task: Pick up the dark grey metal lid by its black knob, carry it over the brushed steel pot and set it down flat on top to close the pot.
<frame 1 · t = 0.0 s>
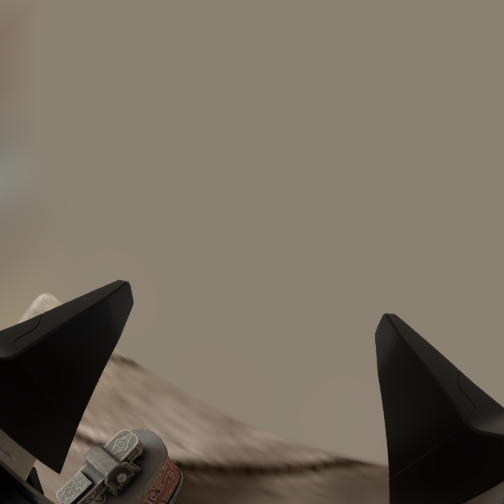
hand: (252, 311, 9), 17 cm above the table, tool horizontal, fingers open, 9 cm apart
lighter: (149, 500, 12), on the table
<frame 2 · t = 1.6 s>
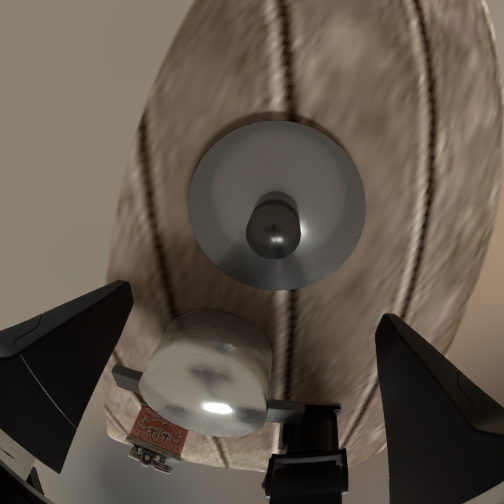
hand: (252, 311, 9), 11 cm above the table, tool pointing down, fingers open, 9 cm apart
lid: (276, 208, 19), on the table
lighter: (167, 412, 34), on the table
pot: (217, 352, 26), on the table
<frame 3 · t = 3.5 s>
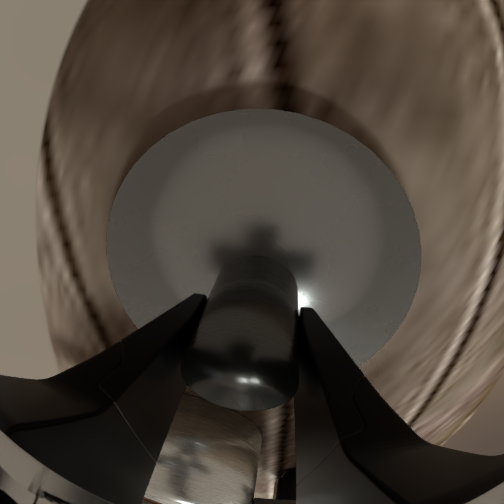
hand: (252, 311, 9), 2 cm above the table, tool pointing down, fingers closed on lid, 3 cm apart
lid: (258, 277, 11), on the table, touching gripper
pot: (192, 428, 18), on the table
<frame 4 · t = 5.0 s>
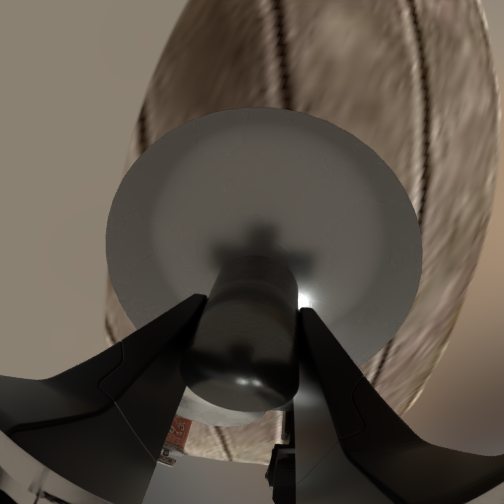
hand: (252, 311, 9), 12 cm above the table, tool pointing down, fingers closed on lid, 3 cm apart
lid: (259, 277, 11), point 10 cm above the table, touching gripper
lighter: (170, 404, 35), on the table
pot: (218, 341, 26), on the table
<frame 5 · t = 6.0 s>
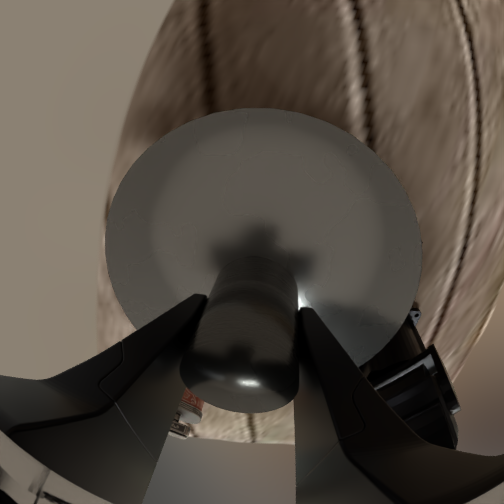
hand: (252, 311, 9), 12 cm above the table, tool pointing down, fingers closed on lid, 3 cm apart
lid: (258, 278, 11), point 10 cm above the table, touching gripper
lighter: (182, 351, 28), on the table
when the fingers open (10 cm above the table, at t = 6.8 s): lid drops 1 cm, resting on pot.
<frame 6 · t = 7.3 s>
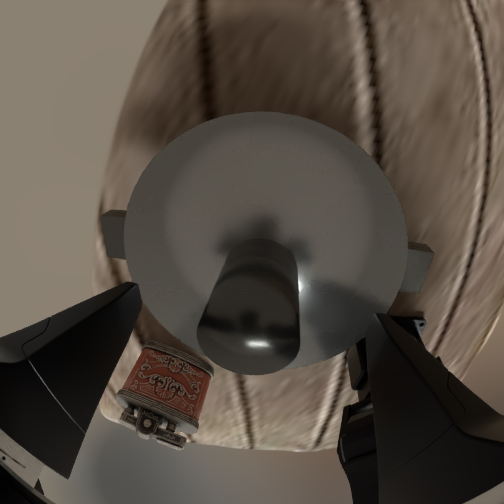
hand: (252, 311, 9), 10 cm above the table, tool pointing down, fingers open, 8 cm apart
lid: (262, 260, 12), point 7 cm above the table, touching pot
lighter: (179, 358, 27), on the table
pot: (270, 211, 18), on the table
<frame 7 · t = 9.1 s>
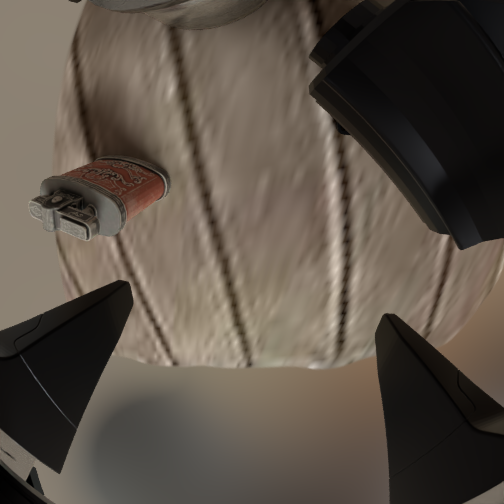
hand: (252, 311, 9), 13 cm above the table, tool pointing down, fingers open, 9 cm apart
lighter: (132, 175, 21), on the table
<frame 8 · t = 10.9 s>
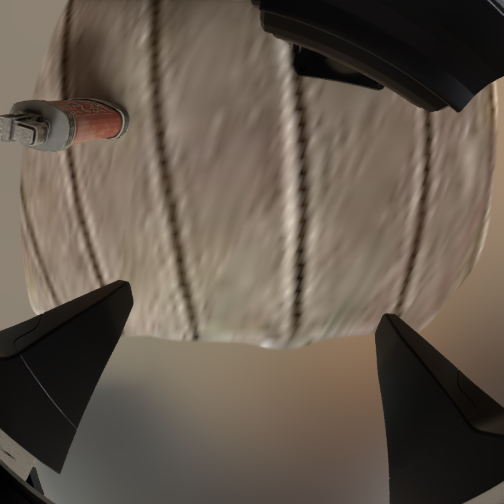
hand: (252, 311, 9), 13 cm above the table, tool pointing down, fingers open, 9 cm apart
lighter: (96, 116, 19), on the table
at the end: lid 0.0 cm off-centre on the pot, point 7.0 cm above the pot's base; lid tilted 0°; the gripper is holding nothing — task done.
